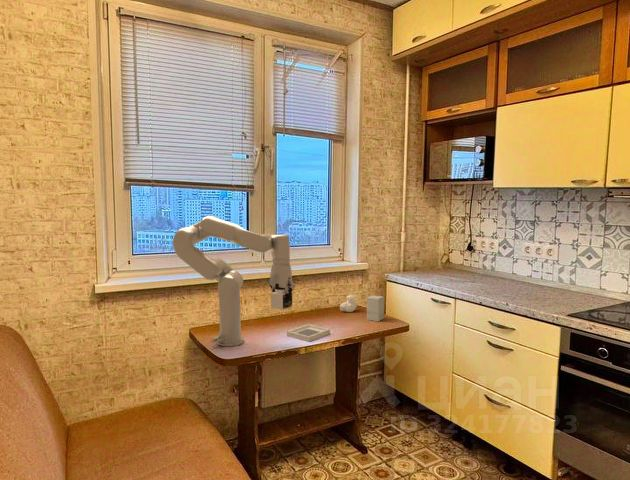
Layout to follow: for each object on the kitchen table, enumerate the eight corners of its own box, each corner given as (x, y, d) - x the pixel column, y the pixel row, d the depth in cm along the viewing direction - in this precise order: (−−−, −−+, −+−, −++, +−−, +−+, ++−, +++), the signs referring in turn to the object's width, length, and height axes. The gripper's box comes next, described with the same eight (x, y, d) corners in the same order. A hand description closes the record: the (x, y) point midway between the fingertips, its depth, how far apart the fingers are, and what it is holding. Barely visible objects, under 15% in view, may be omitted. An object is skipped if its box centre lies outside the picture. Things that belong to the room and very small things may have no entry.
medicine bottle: (283, 310, 193) (282, 283, 192) (270, 308, 197) (270, 282, 196) (292, 306, 199) (292, 281, 198) (280, 305, 203) (280, 279, 202)
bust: (340, 316, 254) (347, 303, 247) (335, 306, 259) (341, 294, 252) (357, 313, 260) (364, 301, 253) (351, 304, 265) (358, 291, 258)
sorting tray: (308, 341, 201) (308, 337, 201) (286, 335, 210) (286, 331, 209) (330, 333, 213) (330, 329, 213) (308, 328, 222) (308, 324, 222)
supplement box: (384, 318, 241) (384, 296, 240) (378, 321, 234) (379, 298, 233) (372, 317, 245) (372, 294, 244) (366, 319, 238) (366, 297, 237)
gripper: (262, 261, 199) (262, 298, 201) (289, 264, 188) (289, 304, 189) (273, 259, 205) (274, 296, 206) (301, 262, 194) (301, 301, 195)
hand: (281, 299), depth 198 cm, fingers closed on medicine bottle, 7 cm apart
